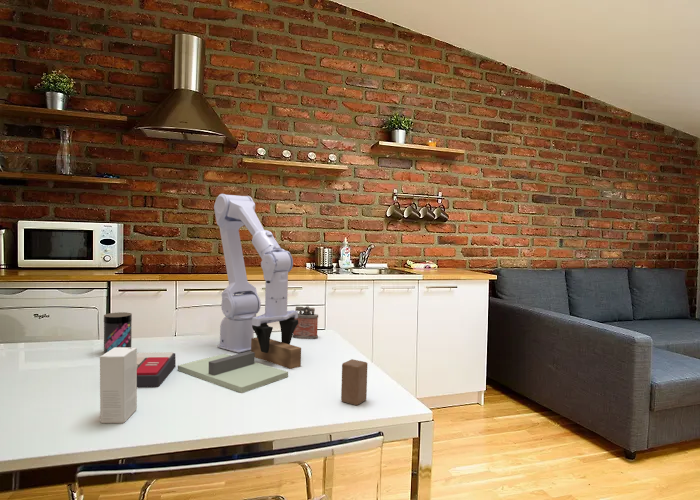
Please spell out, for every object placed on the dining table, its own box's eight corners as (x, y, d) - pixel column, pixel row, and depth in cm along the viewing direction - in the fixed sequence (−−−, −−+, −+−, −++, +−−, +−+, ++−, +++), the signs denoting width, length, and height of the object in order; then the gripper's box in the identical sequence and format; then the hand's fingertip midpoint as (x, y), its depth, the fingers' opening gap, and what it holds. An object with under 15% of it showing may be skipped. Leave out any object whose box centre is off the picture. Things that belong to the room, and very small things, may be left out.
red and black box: (104, 373, 97) (128, 350, 111) (104, 392, 97) (129, 367, 112) (158, 372, 98) (175, 349, 113) (158, 391, 99) (176, 366, 113)
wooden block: (357, 406, 91) (358, 366, 91) (340, 401, 93) (341, 363, 93) (367, 400, 94) (368, 361, 94) (350, 395, 97) (351, 358, 96)
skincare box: (113, 410, 86) (114, 346, 85) (137, 409, 86) (137, 347, 86) (98, 423, 80) (98, 356, 79) (124, 423, 80) (124, 356, 80)
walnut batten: (250, 356, 124) (251, 338, 124) (261, 354, 127) (261, 336, 126) (290, 370, 114) (291, 350, 113) (300, 367, 116) (301, 347, 116)
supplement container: (97, 356, 120) (98, 316, 119) (112, 349, 126) (112, 311, 126) (123, 357, 119) (123, 317, 119) (136, 350, 126) (136, 312, 126)
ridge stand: (177, 370, 110) (177, 353, 110) (225, 358, 121) (225, 343, 121) (241, 393, 96) (241, 374, 96) (288, 376, 108) (288, 360, 107)
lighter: (318, 337, 147) (319, 306, 147) (316, 339, 144) (317, 308, 143) (293, 335, 148) (294, 305, 147) (291, 338, 145) (292, 306, 144)
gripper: (266, 302, 111) (265, 357, 112) (306, 296, 123) (305, 346, 123) (246, 299, 115) (246, 352, 116) (287, 293, 127) (286, 342, 127)
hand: (275, 349), depth 120 cm, fingers open, 7 cm apart
